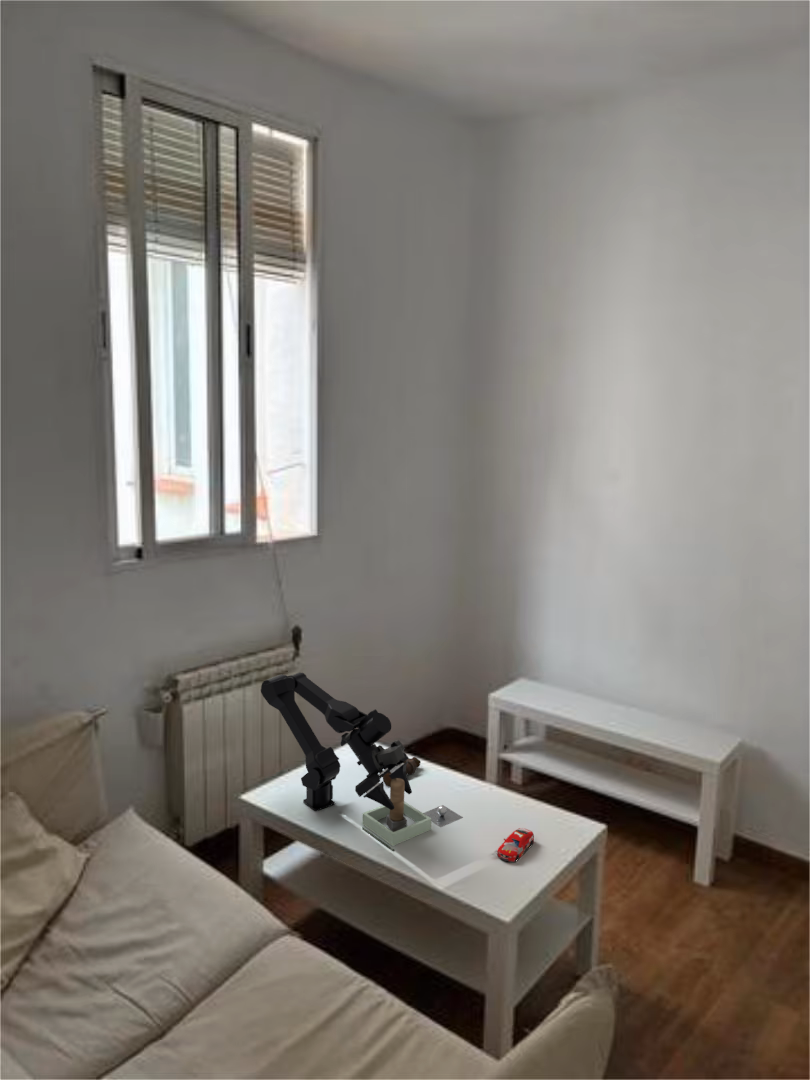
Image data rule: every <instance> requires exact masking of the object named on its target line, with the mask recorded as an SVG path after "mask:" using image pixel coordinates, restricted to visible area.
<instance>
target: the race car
mask: <svg viewBox="0 0 810 1080" xmlns="http://www.w3.org/2000/svg"><path fill="white" fill-rule="evenodd" d="M534 843H535V835H534V832H533V830H530V829H527V828H523V827H519V828H517V829H515V830H514V831H513V832H512V833H511V834H509V835H508V836H507V838H503V843H501V845H500V846H499V847H498V848H497V851H496V852H497V857H498V858H499V859H500V860H502V861H505V862H511V863H512V862H513V863H514V862H515V861H516V860H517V859H518V860H519V859H520V858H521V857H522V856H523V855H524V854H525V853H526V852H527V851H528V850H529V849H530V848H531V847H532V846H533V844H534ZM531 845H532V846H531ZM530 846H531V847H530ZM529 847H530V848H529ZM518 860H517V861H518ZM515 863H516V862H515Z"/></svg>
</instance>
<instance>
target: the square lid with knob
mask: <svg viewBox="0 0 810 1080" xmlns="http://www.w3.org/2000/svg"><path fill="white" fill-rule="evenodd" d="M422 813H423V814H425V815H427V816H428V817H430V818H431V823H433V824H435V825H437V826H438V827H439V828H442V827H445V826H447V825H449V824H451V823H453V822H456V821H459V820H461V819H463V818H464V817H463V816H462V815H460V814H458V813H457V812H455V811H454V810H451V809H450V808H448V807H447V806H445V805H443V804H442V805H440V806H437V807H434V808H432V809H430V810H428V811H425V812H422Z"/></svg>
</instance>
